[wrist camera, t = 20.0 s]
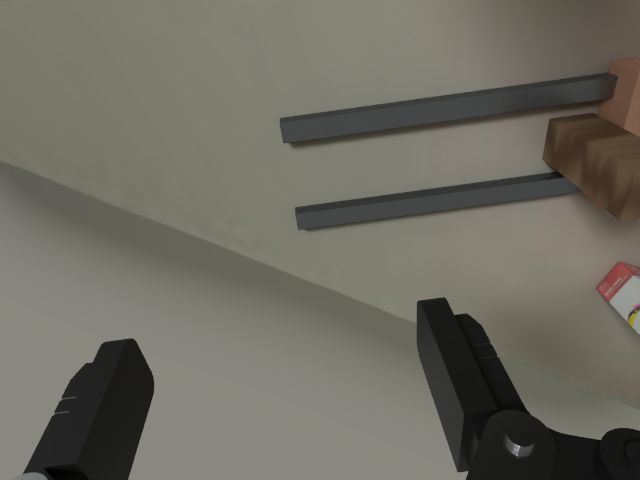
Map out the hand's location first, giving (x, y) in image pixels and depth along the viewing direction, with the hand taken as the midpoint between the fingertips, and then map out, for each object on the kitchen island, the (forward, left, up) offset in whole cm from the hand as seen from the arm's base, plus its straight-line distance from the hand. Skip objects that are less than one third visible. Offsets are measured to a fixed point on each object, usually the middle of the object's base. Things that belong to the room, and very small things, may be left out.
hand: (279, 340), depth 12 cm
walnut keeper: (+10, +28, -33) cm, 45 cm away
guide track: (+10, +15, -33) cm, 38 cm away
